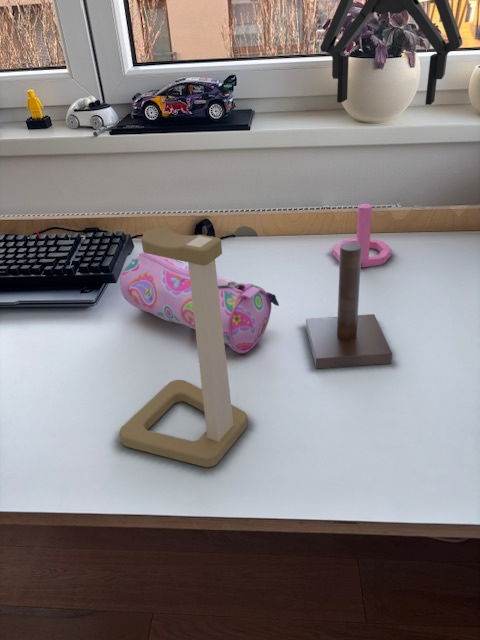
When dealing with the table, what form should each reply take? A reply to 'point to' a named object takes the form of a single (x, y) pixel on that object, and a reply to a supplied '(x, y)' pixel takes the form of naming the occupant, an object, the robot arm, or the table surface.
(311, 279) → the table surface
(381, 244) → the pink ring with handle
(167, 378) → the table surface
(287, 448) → the table surface
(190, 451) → the headphone stand
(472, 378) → the table surface
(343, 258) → the stand
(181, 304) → the pencil case
